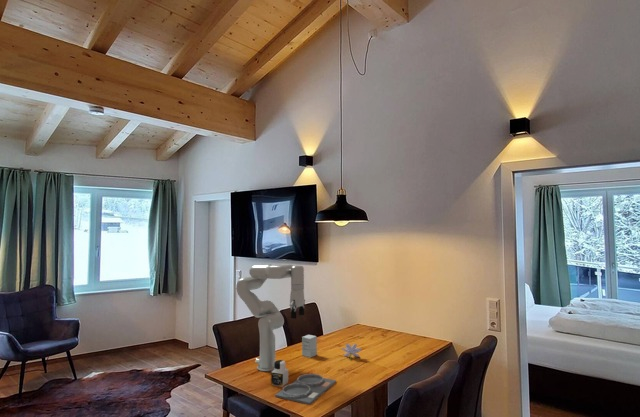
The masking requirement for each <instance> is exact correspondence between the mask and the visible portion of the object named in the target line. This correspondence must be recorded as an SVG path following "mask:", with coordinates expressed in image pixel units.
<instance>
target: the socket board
mask: <svg viewBox="0 0 640 417" xmlns="http://www.w3.org/2000/svg"><path fill="white" fill-rule="evenodd" d="M303 375H305V374H303ZM299 381H300V382H302V383H307V384H310V383H317V382H320V381H321V379H319V378H316V377H305V378H302V379H300V380H299ZM293 383H297V379H296V380H294V381H293V382H291V383H290V384H293ZM336 383H337V380H336V379H331V378H326V377H323V383H322V384H321V385H319V386H315V387H310V394H309V395H307V396H305V397H302V398H290V397H286V396H285V395H283V389H281V390H280V391H278V392H277V393H276V394H274V396H275V398H280V399H283V400H288V401H293V402H297V403H301V404H304V405H305V404H306V405H312V404H313V403H314V402H315V401H316V400H318V398H319V397H321V396H322V395H323V394H324V393H325V392H327V391H328V390H329V389H330V388H331V387H332V386H334V385H335V384H336ZM284 391H285V392H286V393H289V394H303V393H306V392H307V391H309V390H308V389H307V388H304V387H291V388H287V389H286V390H284Z"/></svg>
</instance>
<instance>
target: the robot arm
mask: <svg viewBox="0 0 640 417" xmlns="http://www.w3.org/2000/svg"><path fill="white" fill-rule="evenodd" d="M304 271H305V268H304V266H303V265H294V264H284V265H282V264H281V265H272V264H265V263H264V264H262V263H261V264H254V265H252V266H251V267H250V268H249V271H248V272H249V276H248V277H247V276H246V277H242V278H240V279H239V280H238V281H237V282H236V293H237V295H238V296H239V298H240V299H241V300H242V301H243V303H244V304H245V305H246V307H247V308H248V309H249V311H250V313H251V314H252V315H253V317H255V318H257V319H258V318H259V319H258V323H257V325H258V332H259V358H255V361H254V363H255V364H257V366H256V369H257V370H259V371H260V372H272V371H273V370H275V369H274V363H275V361H276V335H275V333H274V330H277V329H280V328H281V327H283V326H284V325H285V324H284V323H285V319H284V316H283V314H282V313H281V311H280V310H279V309H278V307H277V306H276V305H275V303H274V302H273V301H271V300H261V299H260V298H259V297H258V296H257V295H256V294H255V293H254V292H253V291H252V290H257V289H260V288H262V286H263V285H264V284H265V282H266V281H267V279H268V280H269V279H271V280H273V279H274V280H276V279H277V280H281V279H286V278H288V279H289V278H290V289H291V290H290V295H289V309H290V318H291V319H297V309H298V315H299V316H304V315H305V306H306V305H305V304H306V299H305V274H304V273H305V272H304Z"/></svg>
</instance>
